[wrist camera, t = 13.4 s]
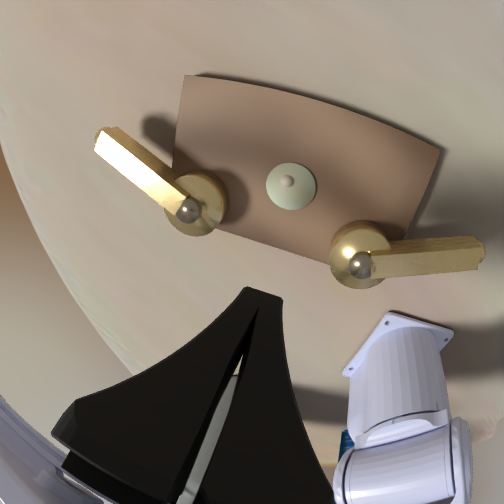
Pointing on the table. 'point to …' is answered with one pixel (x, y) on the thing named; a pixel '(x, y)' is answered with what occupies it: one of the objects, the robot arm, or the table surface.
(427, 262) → the lever
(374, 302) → the table surface
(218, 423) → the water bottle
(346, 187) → the base
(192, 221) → the lever
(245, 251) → the table surface
